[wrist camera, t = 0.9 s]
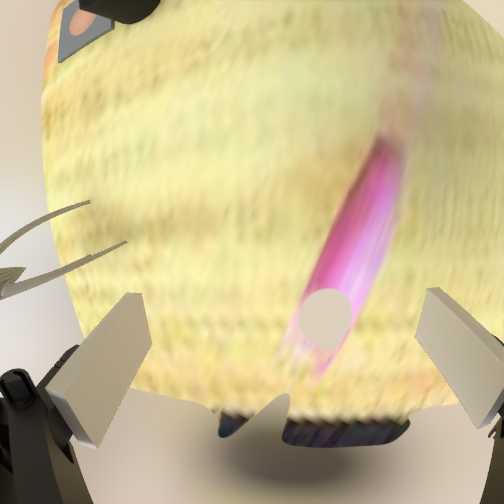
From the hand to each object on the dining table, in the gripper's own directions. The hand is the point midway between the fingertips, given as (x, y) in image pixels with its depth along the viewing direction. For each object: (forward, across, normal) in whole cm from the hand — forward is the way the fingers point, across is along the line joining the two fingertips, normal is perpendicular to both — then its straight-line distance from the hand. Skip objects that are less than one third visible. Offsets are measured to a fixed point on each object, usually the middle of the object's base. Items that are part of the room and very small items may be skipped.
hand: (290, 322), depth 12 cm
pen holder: (+28, -19, +35) cm, 48 cm away
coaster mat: (+30, -31, +38) cm, 58 cm away
